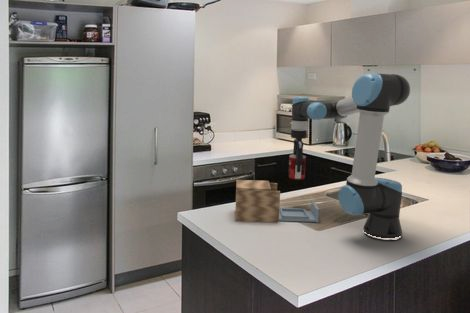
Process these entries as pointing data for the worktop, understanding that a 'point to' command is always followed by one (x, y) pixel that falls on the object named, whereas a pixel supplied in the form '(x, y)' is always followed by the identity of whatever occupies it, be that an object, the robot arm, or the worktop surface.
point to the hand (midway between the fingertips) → (296, 176)
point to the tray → (299, 214)
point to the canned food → (292, 166)
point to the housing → (257, 201)
